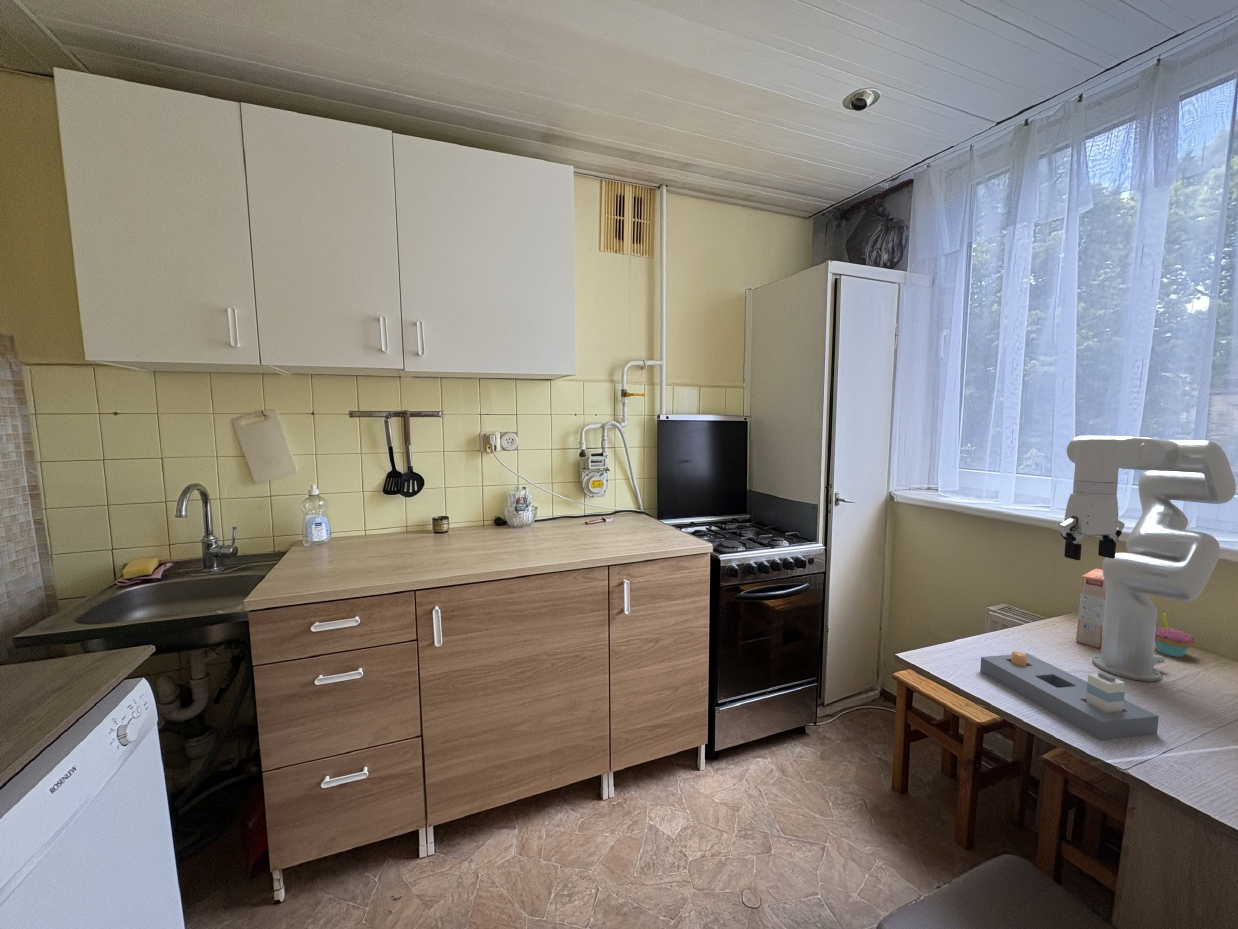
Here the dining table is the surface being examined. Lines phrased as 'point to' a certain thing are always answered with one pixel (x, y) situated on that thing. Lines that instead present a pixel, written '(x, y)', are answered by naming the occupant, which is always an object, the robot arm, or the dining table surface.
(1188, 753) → the dining table surface
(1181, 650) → the cupcake
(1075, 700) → the panel
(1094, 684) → the plug
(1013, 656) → the brown egg
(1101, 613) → the cracker box
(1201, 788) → the dining table surface
